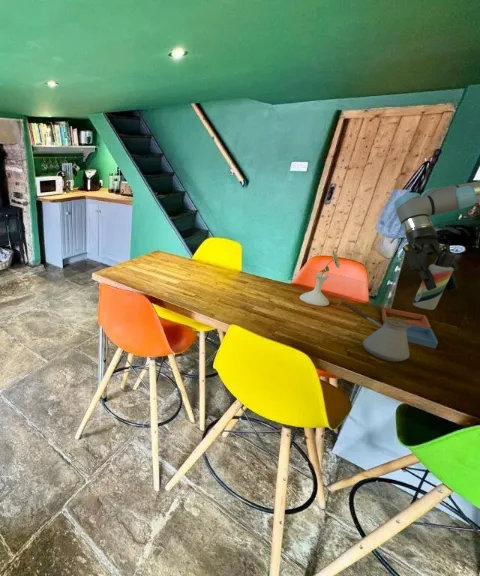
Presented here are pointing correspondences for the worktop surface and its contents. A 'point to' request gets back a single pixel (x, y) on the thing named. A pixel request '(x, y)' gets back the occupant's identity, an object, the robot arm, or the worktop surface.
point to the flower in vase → (319, 287)
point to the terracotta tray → (422, 322)
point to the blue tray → (421, 336)
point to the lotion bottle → (441, 276)
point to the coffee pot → (387, 338)
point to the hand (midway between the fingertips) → (442, 289)
